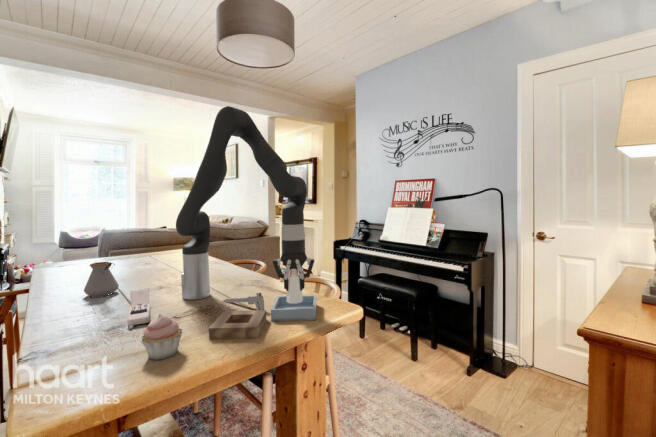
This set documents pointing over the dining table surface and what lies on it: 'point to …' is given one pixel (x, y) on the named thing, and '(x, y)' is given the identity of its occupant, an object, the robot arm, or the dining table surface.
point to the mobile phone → (139, 307)
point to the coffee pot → (101, 280)
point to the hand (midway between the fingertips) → (294, 289)
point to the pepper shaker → (294, 288)
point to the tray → (294, 309)
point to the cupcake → (161, 337)
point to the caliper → (250, 300)
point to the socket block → (238, 324)
